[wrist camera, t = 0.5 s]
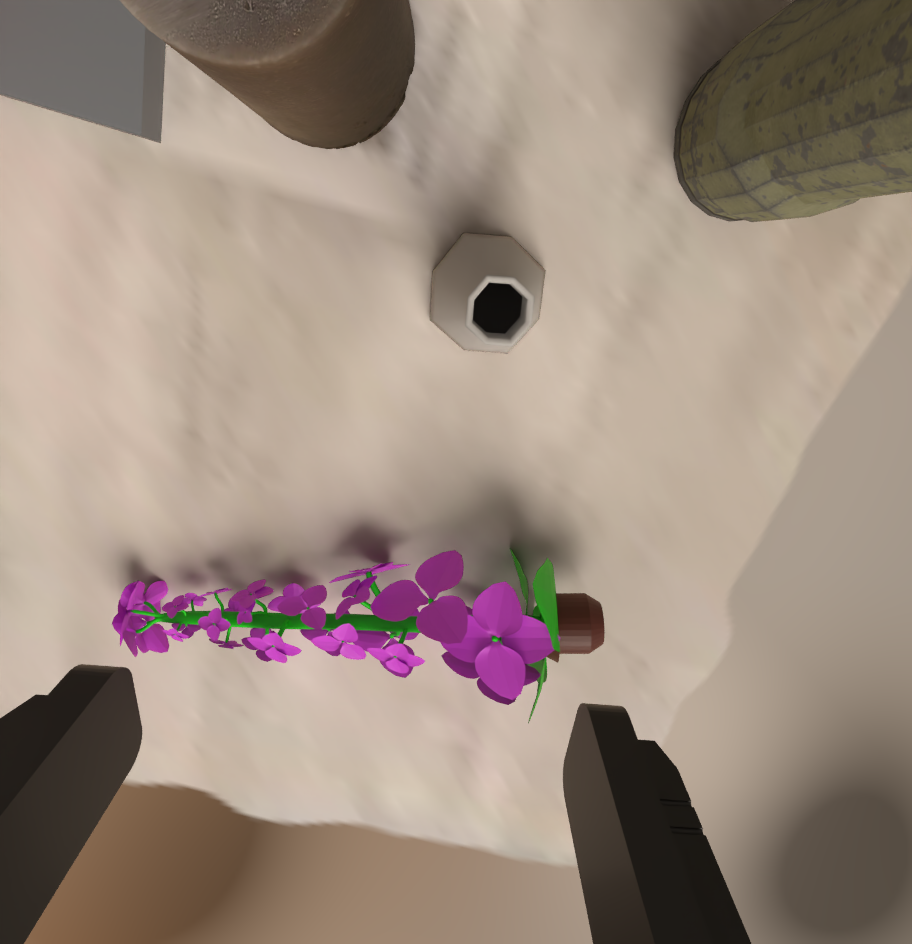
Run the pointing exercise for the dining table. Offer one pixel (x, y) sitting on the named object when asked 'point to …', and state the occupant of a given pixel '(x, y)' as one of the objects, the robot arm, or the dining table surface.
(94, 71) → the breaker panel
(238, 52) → the pillar candle
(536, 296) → the flask
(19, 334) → the dining table surface
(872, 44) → the thermos
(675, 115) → the dining table surface
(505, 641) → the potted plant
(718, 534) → the dining table surface
